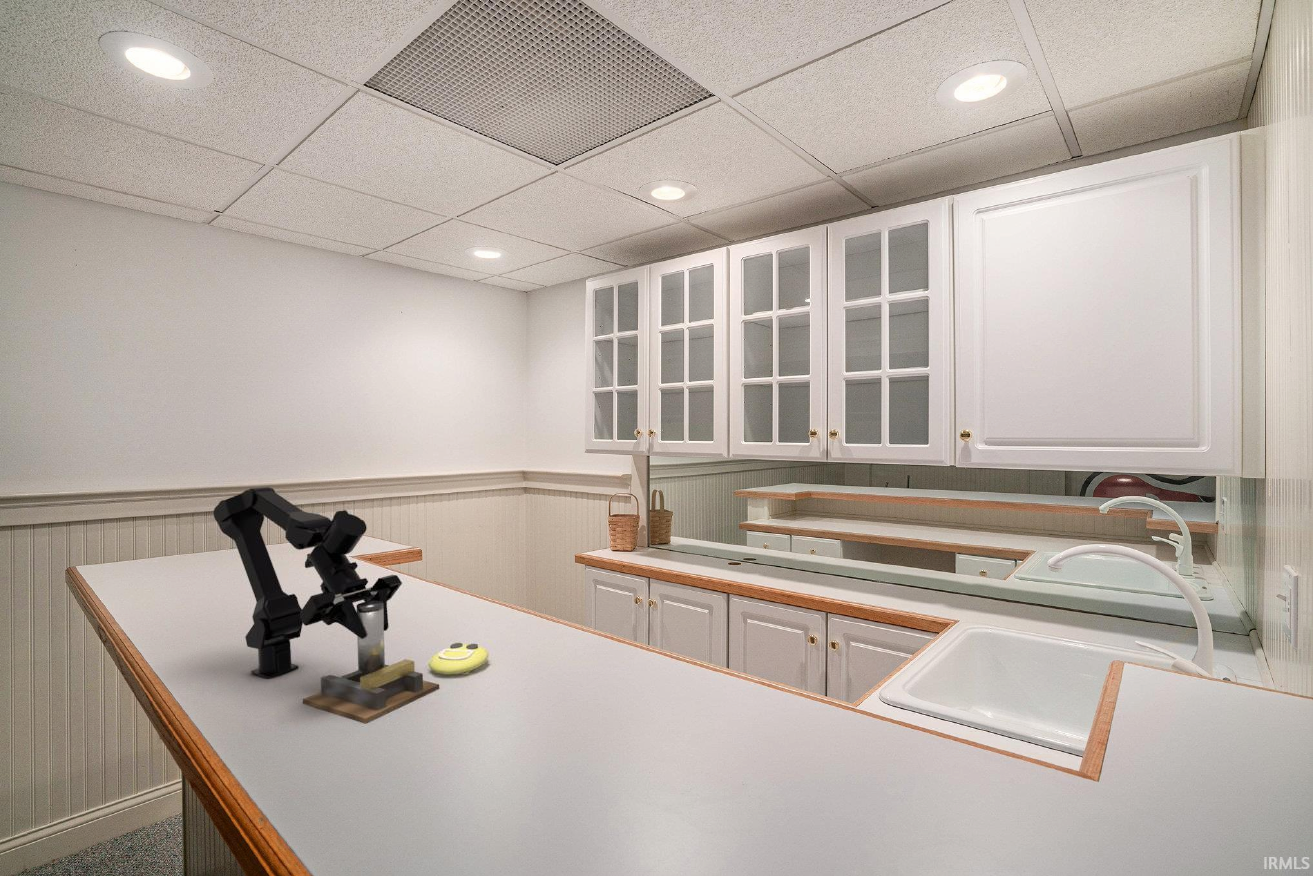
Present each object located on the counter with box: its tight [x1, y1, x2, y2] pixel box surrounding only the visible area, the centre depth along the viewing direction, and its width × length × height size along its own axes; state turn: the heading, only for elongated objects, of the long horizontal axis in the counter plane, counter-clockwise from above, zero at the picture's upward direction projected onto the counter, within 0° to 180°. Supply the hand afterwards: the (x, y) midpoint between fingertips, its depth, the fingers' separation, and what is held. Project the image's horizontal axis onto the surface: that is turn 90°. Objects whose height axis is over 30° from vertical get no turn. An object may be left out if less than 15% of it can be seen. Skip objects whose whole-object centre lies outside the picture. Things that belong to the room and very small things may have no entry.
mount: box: [301, 664, 440, 724], centre depth 118 cm, size 18×16×4 cm
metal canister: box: [356, 601, 386, 672], centre depth 118 cm, size 5×5×12 cm
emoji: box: [428, 642, 489, 675], centre depth 132 cm, size 4×12×12 cm
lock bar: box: [360, 658, 416, 691], centre depth 116 cm, size 2×10×2 cm, turn 151°
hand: (375, 633), depth 118 cm, fingers closed on metal canister, 5 cm apart
